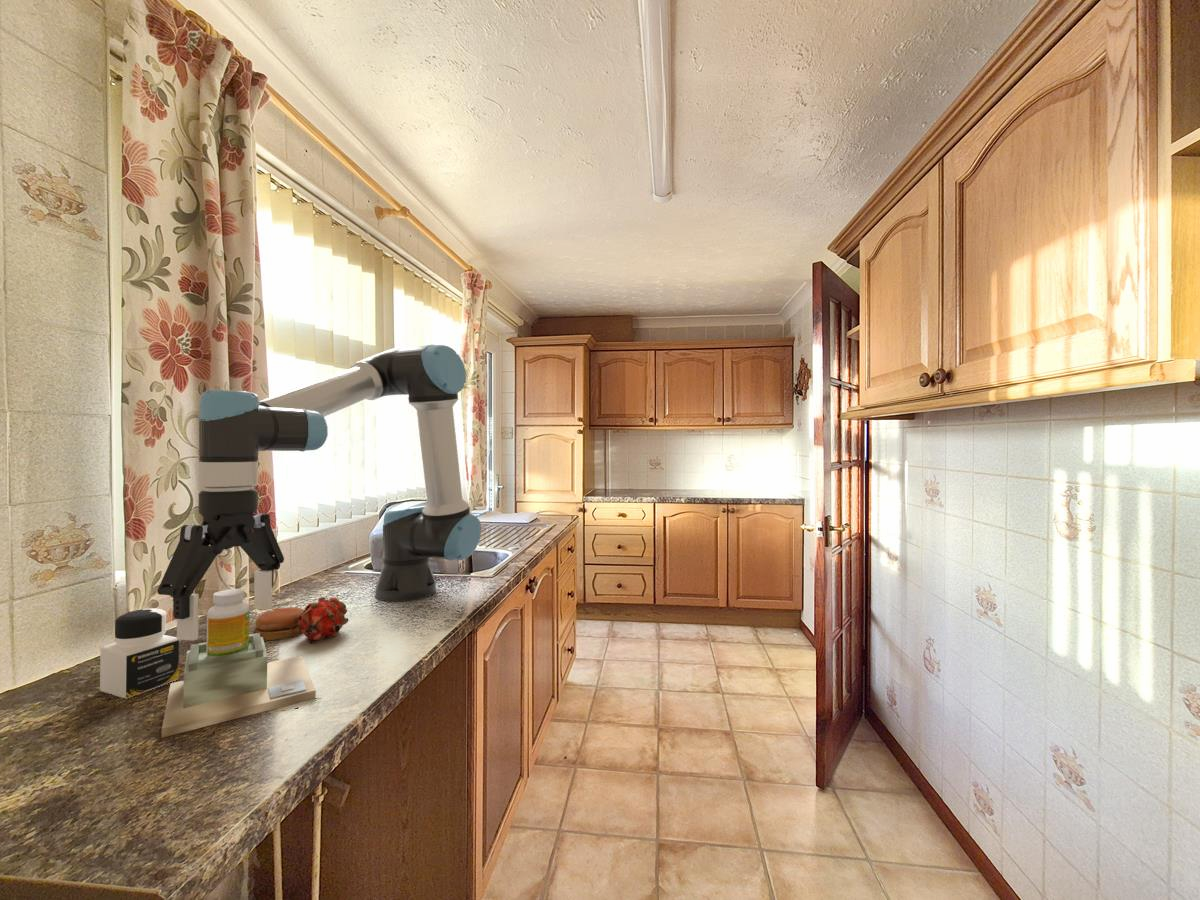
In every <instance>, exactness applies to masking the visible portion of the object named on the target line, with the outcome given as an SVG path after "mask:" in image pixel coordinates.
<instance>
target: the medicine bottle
mask: <svg viewBox="0 0 1200 900" xmlns="http://www.w3.org/2000/svg"><path fill="white" fill-rule="evenodd" d="M114 623H115V624H114V633H115V634H114V642H113V643H110V644H105V645H103V646H102V647H100V653H99V654H100V661H99V662H100V664H99V665H100V666H99V671H100V672H99V673H100V674H99V676H100V677H99V691H100V692H102V693H106V694H108V695H111V694H112V696H115V697H118V698H122V699H124V698H125V700H128V698H129V699H132V698H134V697H133V696H135V695H137V696H139V695H138V694H140V695H142V694H141V693H143V692H145V693H147V692H146V691H148V692H150V691H153V690H156V689H158V688H161V687H163V685H164V686H166V685H169V684H171V683H170V682H172V683H174V682H177V681H178V680H179V678H180V677H179V675H180V664H179V663H180V660H179V659H180V640H177V636H171V635H167V634H166V631H167V612H166V611H165V610H163V609H161V608H155V607H154V608H153V607H152V608H142V609H136V610H133V611H128V612H125V613H124V614H122V615H120V616H118V617H117V618H116V619H115V621H114ZM176 680H177V681H176ZM173 681H174V682H173ZM168 683H169V684H168ZM165 684H166V685H165ZM160 686H161V687H160ZM157 687H158V688H157ZM155 688H156V689H155ZM152 689H153V690H152ZM149 690H150V691H149ZM143 694H144V693H143ZM131 697H132V698H131ZM135 697H136V696H135Z"/></svg>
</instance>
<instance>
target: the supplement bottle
mask: <svg viewBox="0 0 1200 900" xmlns="http://www.w3.org/2000/svg"><path fill="white" fill-rule="evenodd" d="M244 600H245V590H244V589H242V588H241V589H240V588H229V589H225V590H220V591H216V592H214V593H213V595H212V604H214V606H211V607H210V608H209V609H208V611H207V613H206V641H205V642H206V656H207V658H214V657H219V656H224V655H229V654H234V653H239V652H244V651H247V650H248V649H249V635H250V605H249V604H248V603H247V602H243V601H244Z"/></svg>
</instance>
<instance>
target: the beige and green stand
mask: <svg viewBox="0 0 1200 900" xmlns="http://www.w3.org/2000/svg"><path fill="white" fill-rule="evenodd" d="M184 664H185V665H184V671H183V680H180V681H174V682H172V683H169V684H170V685H169V690H168V696H167V701H166V706H165V710H164V716H163V721H162V726H161V739H163V738H166V737H167V738H168V737H171V736H174V735H178V734H181V733H182V734H183V733H186V732H190V731H193V730H197V729H201V728H204V727H209V726H213V725H216V724H217V725H218V724H220V723H221V724H222V723H225V722H228V721H231V720H235V719H239V718H243V717H248V716H252V715H255V714H259V713H264V712H267V711H271V710H274V709H275V710H276V709H279V708H282V707H283V708H284V707H286V706H290V705H294V704H298V703H301V702H302V703H303V702H306V701H308V700H313V699H316V698H317V690H316V689H317V688H315V684H314V682H313V679H312V677H311V675H310V671H309V670H308V667H307V665H306V662H305V660H304V657H303V656H302V655H298V656H294V657H289V658H284V659H280V660H274V661H269V662H268V652H267V650H266V645H265V641H264V639H263V637H260V633H255V634H254V633H252V634H250V633H249V649H248V650H247V651H244V652H239V653H234V654H229V655H224V656H219V657H214V658H207V656H206V641H205V642H200V643H194V644H191V645H190V650H187V651H186V657H185V663H184Z"/></svg>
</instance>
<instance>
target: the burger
mask: <svg viewBox="0 0 1200 900" xmlns="http://www.w3.org/2000/svg"><path fill="white" fill-rule="evenodd" d="M304 610H305V608H304V609H303V608H300V607H296V606H294V607H292V606H291V607H279V608H273V609H271V610H270V609H269V610H266V611H264V612H263V613H262V614H259V616H258V617H257V618H256V620H255V623H254V624H255V627H254V629H253V634H255V633H260V637H263V640H264V639H265V640H266V641H274V640H273V639H277V640H283V639H284V638H285V639H289V638H292V637H295V636H298V635H300V634H303V633H302V631H299V623H298V619H299V617H300V615H301V614H302V613H303V611H304Z"/></svg>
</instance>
